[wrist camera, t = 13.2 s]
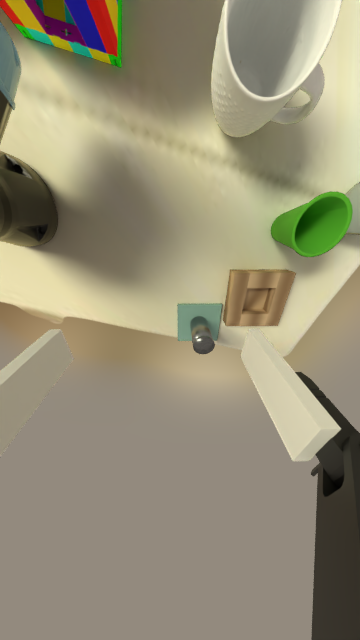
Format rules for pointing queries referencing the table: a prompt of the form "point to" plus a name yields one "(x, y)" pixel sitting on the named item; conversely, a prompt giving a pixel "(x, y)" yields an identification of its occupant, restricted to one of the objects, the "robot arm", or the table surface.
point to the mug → (269, 61)
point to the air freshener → (354, 209)
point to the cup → (314, 224)
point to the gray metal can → (201, 335)
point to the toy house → (71, 25)
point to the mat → (193, 310)
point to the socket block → (256, 297)
